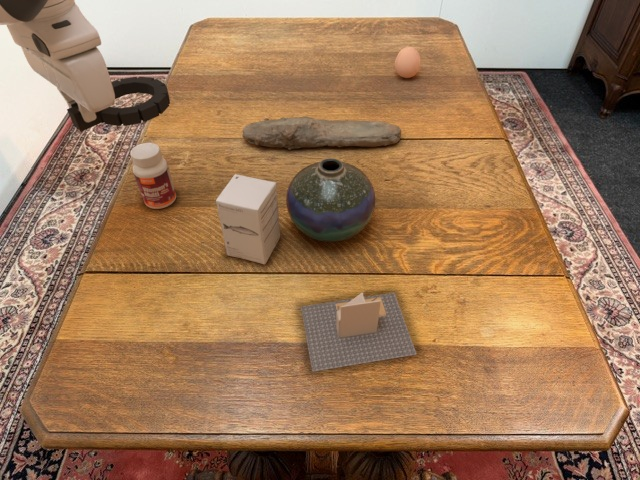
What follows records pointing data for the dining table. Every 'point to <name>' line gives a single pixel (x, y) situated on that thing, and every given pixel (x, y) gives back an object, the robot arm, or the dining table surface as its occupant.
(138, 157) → the pill bottle
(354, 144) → the elongated rock
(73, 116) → the rubber collar
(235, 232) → the white packaging box
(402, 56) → the egg
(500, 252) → the dining table surface
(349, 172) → the vase
